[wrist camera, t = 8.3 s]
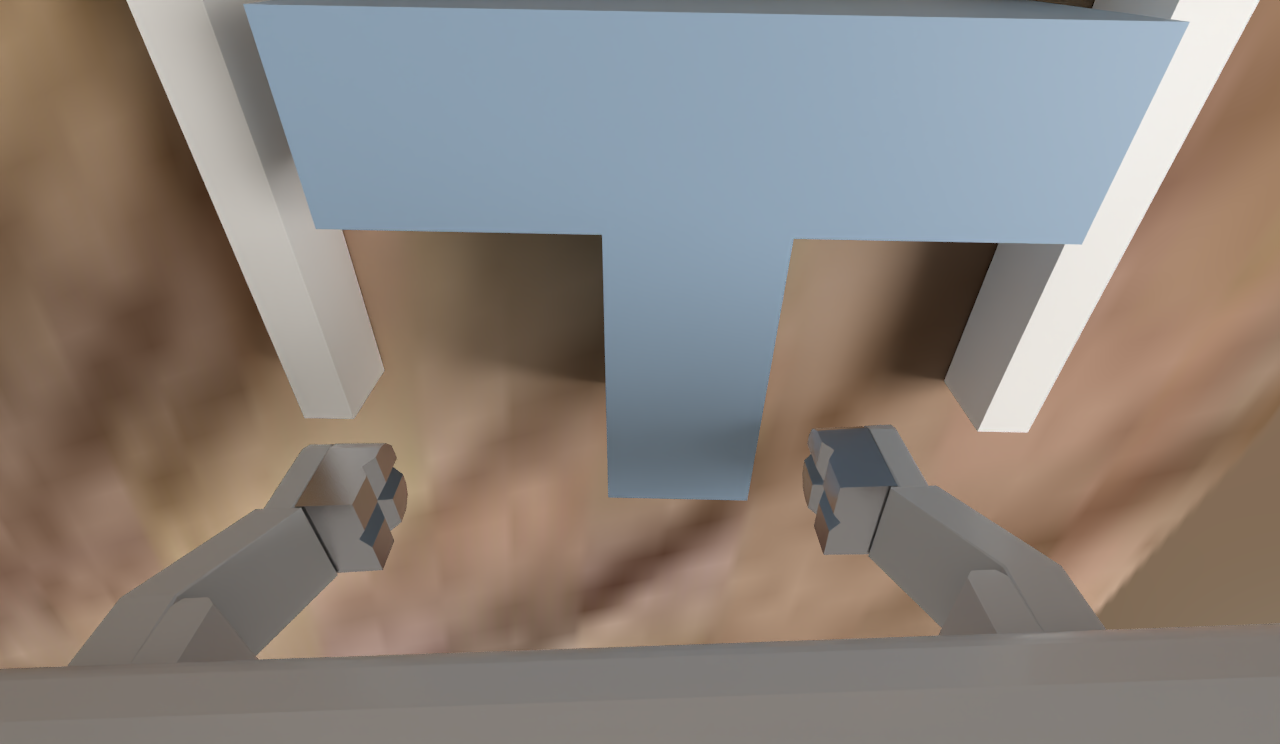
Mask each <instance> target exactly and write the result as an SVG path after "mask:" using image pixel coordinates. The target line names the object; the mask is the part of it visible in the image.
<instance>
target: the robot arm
mask: <svg viewBox="0 0 1280 744" xmlns="http://www.w3.org/2000/svg"><path fill="white" fill-rule="evenodd" d="M808 446H809V449H810V452H811V455H810V456H809V457H808V458H806V459H805V460H804V466H803V472H802V477H803V491H804V496H805V500H806V503H807V506H808V508H809V509H810V510H812V511H813V512H814V513H815V514H816V519H815V524H814V527H815V530H816V533H817V536H818V539H819V542H820V545H821V548H822V551H823V554H824V555H829V554H869V557H870V558H871V559H872V560H873V561H874V562H875V563H876V564H877V565H878V566H879V567H880V568H881V569H882V570H883V571H884V572H885V573H886V574H887V575H888V576H889V577H890V578H891V579H892V580H893V581H894V582H895V583H896V584H897V585H898V586H899V587H900V588H902V589H903V590H904V591H905V592H906V593H907V594H908V595H909V596H910V597H911V598H912V599H913V600H914V601H915V602H916V603H917V604H918V605H919V606H920V607H921V608H922V609H923V610H924V611H925V612H926V613H927V614H928V615H929V616H930V617H931V618H932V619H933V620H934V621H935V622H936V623H937V624H938V625H939V626H941V627H942V629H941V631H940V633H939V635H938V636H917V637H888V638H859V639H830V640H802V641H774V642H747V643H720V644H692V645H665V646H637V647H608V648H579V649H550V650H520V651H491V652H463V653H434V654H406V655H377V656H349V657H320V658H292V659H264V660H258V658H257V657H256V655H257V654H258V653H259V652H260V651H261V650H262V649H263V648H264V647H265V646H266V645H267V644H268V643H269V642H270V641H271V640H272V639H273V638H274V637H276V636H277V635H278V634H279V633H280V632H281V631H282V630H283V629H284V628H285V627H286V626H287V625H288V624H289V623H290V622H291V621H292V620H293V619H294V618H295V617H296V616H297V615H298V614H299V613H300V612H301V611H302V610H303V609H304V608H305V607H306V606H307V605H308V604H309V603H310V602H311V601H312V600H313V599H314V598H315V597H316V596H317V595H318V594H319V593H320V592H321V591H322V590H323V589H324V588H325V587H326V586H327V585H328V584H329V583H330V582H331V581H332V580H333V579H334V578H335V577H336V576H337V573H341V572H357V571H373V570H383V568H384V565H385V563H386V560H387V558H388V555H389V553H390V550H391V548H392V545H393V543H394V539H393V536H392V534H391V532H390V531H391V530H392V529H393V528H395V527H396V526H397V525H398V524H399V523H401V522H402V519H403V516H404V514H405V511H406V505H407V496H408V493H407V486H406V482H405V479H404V476H403V474H402V473H400V472H399V471H398V470H396V469H395V468H394V467H393V465H394V463H395V461H396V459H397V457H396V455H395V453H394V450H393V448H392V446H391V445H389V444H386V443H366V444H335V445H332V444H329V445H308V446H307V447H305V448H303V449H302V450H301V452H300V453H299V455H298V456H297V458H296V460H295V461H294V463H293V464H292V466H291V467H290V469H289V470H288V472H287V473H286V475H285V477H284V478H283V480H282V481H281V483H280V484H279V486H278V487H277V489H276V490H275V492H274V494H273V495H272V497H271V498H270V500H269V501H268V503H267V504H266V506H265V507H264V509H255V510H254V511H252V512H250V513H249V514H247V515H246V516H244V517H243V518H241V519H240V520H238V521H237V522H235V523H234V524H232V525H231V526H229V527H228V528H226V529H225V530H223V531H221V532H220V533H218V534H217V535H215V536H214V537H212V538H211V539H209V540H208V541H206V542H205V543H203V544H202V545H200V546H199V547H197V548H196V549H194V550H193V551H191V552H189V553H188V554H186V555H185V556H183V557H182V558H180V559H179V560H177V561H176V562H174V563H173V564H171V565H170V566H168V567H167V568H165V569H164V570H162V571H161V572H159V573H157V574H156V575H154V576H153V577H151V578H150V579H148V580H147V581H145V582H144V583H142V584H141V585H139V586H138V587H136V588H135V589H133V590H132V591H130V592H128V593H127V594H125V595H124V596H122V597H121V598H120V599H119V600H118V601H117V603H116V604H115V605H114V607H113V608H112V609H111V610H110V612H109V613H108V614H107V616H106V617H105V618H104V619H103V621H102V622H101V623H100V625H99V626H98V627H97V628H96V630H95V631H94V632H93V633H92V635H91V636H90V637H89V639H88V640H87V641H86V642H85V644H84V645H83V646H82V648H81V649H80V650H79V651H78V653H77V654H76V655H75V657H74V658H73V659H72V660H71V662H70V663H69V664H68V666H65V667H36V668H9V669H0V744H1280V624H1258V625H1257V624H1256V625H1228V626H1201V627H1175V628H1148V629H1147V628H1146V629H1120V630H1119V629H1117V630H1106V629H1105V627H1104V626H1103V625H1102V623H1101V622H1100V620H1099V619H1098V617H1097V616H1096V615H1095V613H1094V612H1093V610H1092V609H1091V607H1090V606H1089V605H1088V603H1087V602H1086V600H1085V599H1084V598H1083V596H1082V595H1081V593H1080V592H1079V590H1078V589H1077V588H1076V586H1075V585H1074V583H1073V582H1072V580H1071V579H1070V578H1069V576H1068V575H1067V573H1066V572H1065V571H1064V569H1063V568H1062V566H1061V565H1059V564H1057V563H1056V562H1054V561H1053V560H1051V559H1050V558H1048V557H1047V556H1045V555H1043V554H1042V553H1040V552H1039V551H1037V550H1036V549H1034V548H1033V547H1031V546H1029V545H1028V544H1026V543H1025V542H1023V541H1022V540H1020V539H1019V538H1017V537H1015V536H1014V535H1012V534H1011V533H1009V532H1008V531H1006V530H1005V529H1003V528H1002V527H1000V526H998V525H997V524H995V523H994V522H992V521H991V520H989V519H988V518H986V517H984V516H983V515H981V514H980V513H978V512H977V511H975V510H974V509H972V508H970V507H969V506H967V505H966V504H964V503H963V502H961V501H960V500H958V499H956V498H955V497H953V496H952V495H950V494H949V493H947V492H946V491H944V490H942V489H941V488H939V487H938V486H928V484H927V482H926V480H925V479H924V477H923V475H922V473H921V472H920V470H919V468H918V466H917V465H916V463H915V461H914V460H913V458H912V456H911V454H910V453H909V451H908V449H907V447H906V446H905V444H904V442H903V440H902V439H901V437H900V435H899V434H898V432H897V430H896V428H895V427H893V426H892V425H873V426H864V427H862V426H859V427H835V428H813V429H812V430H811V432H810V434H809V439H808Z"/></svg>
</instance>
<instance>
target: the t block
mask: <svg viewBox="0 0 1280 744" xmlns="http://www.w3.org/2000/svg"><path fill="white" fill-rule="evenodd" d="M243 6H244V9H245V12H246V15H247V18H248V21H249V24H250V27H251V30H252V33H253V37H254V40H255V43H256V46H257V49H258V52H259V55H260V58H261V61H262V64H263V67H264V70H265V74H266V77H267V80H268V83H269V86H270V89H271V92H272V95H273V98H274V101H275V104H276V108H277V111H278V114H279V117H280V120H281V123H282V126H283V129H284V132H285V135H286V138H287V142H288V145H289V148H290V151H291V154H292V157H293V160H294V163H295V166H296V169H297V172H298V176H299V179H300V182H301V185H302V188H303V191H304V194H305V197H306V200H307V203H308V206H309V210H310V213H311V216H312V219H313V222H314V225H315V228H316V229H339V230H389V231H438V232H487V233H537V234H586V235H602V253H603V294H604V335H605V376H606V417H607V458H608V497H617V498H662V499H707V500H747V498H748V492H749V486H750V481H751V475H752V469H753V464H754V458H755V453H756V447H757V441H758V436H759V430H760V424H761V419H762V413H763V408H764V402H765V396H766V391H767V385H768V380H769V374H770V368H771V363H772V357H773V351H774V346H775V340H776V335H777V329H778V323H779V318H780V312H781V306H782V301H783V295H784V290H785V284H786V278H787V273H788V267H789V261H790V256H791V250H792V245H793V239H833V240H882V241H931V242H981V243H1030V244H1079V245H1082V243H1083V241H1084V239H1085V237H1086V235H1087V233H1088V231H1089V229H1090V227H1091V224H1092V222H1093V220H1094V218H1095V216H1096V214H1097V212H1098V210H1099V208H1100V206H1101V204H1102V202H1103V200H1104V198H1105V196H1106V194H1107V192H1108V189H1109V187H1110V185H1111V183H1112V181H1113V179H1114V177H1115V175H1116V173H1117V171H1118V169H1119V167H1120V165H1121V163H1122V161H1123V159H1124V156H1125V154H1126V152H1127V150H1128V148H1129V146H1130V144H1131V142H1132V140H1133V138H1134V136H1135V134H1136V132H1137V130H1138V128H1139V126H1140V124H1141V121H1142V119H1143V117H1144V115H1145V113H1146V111H1147V109H1148V107H1149V105H1150V103H1151V101H1152V99H1153V97H1154V95H1155V93H1156V91H1157V89H1158V86H1159V84H1160V82H1161V80H1162V78H1163V76H1164V74H1165V72H1166V70H1167V68H1168V66H1169V64H1170V62H1171V60H1172V58H1173V56H1174V53H1175V51H1176V49H1177V47H1178V45H1179V43H1180V41H1181V39H1182V37H1183V35H1184V33H1185V31H1186V29H1187V27H1188V25H1189V23H1190V22H1187V21H1180V20H1173V19H1165V18H1158V17H1150V16H1143V15H1136V14H1128V13H1121V12H1113V11H1106V10H1098V9H1091V8H1084V7H1076V6H1069V5H1061V4H1054V3H1047V2H1039V1H1032V0H270V1H262V2H255V3H248V4H243Z"/></svg>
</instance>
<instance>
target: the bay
mask: <svg viewBox="0 0 1280 744" xmlns="http://www.w3.org/2000/svg"><path fill="white" fill-rule="evenodd" d="M126 1H127V3H128V5H129V8H130V10H131V12H132V15H133V17H134V19H135V22H136V24H137V26H138V29H139V31H140V33H141V36H142V38H143V40H144V43H145V45H146V47H147V50H148V52H149V54H150V57H151V59H152V61H153V64H154V66H155V69H156V71H157V73H158V76H159V78H160V80H161V83H162V85H163V87H164V90H165V92H166V94H167V97H168V99H169V101H170V104H171V106H172V108H173V111H174V113H175V115H176V118H177V120H178V122H179V125H180V127H181V129H182V132H183V134H184V137H185V139H186V141H187V144H188V146H189V148H190V151H191V153H192V155H193V158H194V160H195V162H196V165H197V167H198V169H199V172H200V174H201V176H202V179H203V181H204V183H205V186H206V188H207V190H208V193H209V195H210V197H211V200H212V202H213V205H214V207H215V209H216V212H217V214H218V216H219V219H220V221H221V223H222V226H223V228H224V230H225V233H226V235H227V237H228V240H229V242H230V244H231V247H232V249H233V251H234V254H235V256H236V258H237V261H238V263H239V265H240V268H241V270H242V273H243V275H244V277H245V280H246V282H247V284H248V287H249V289H250V291H251V294H252V296H253V298H254V301H255V303H256V305H257V308H258V310H259V312H260V315H261V317H262V319H263V322H264V324H265V326H266V329H267V331H268V334H269V336H270V338H271V341H272V343H273V345H274V348H275V350H276V352H277V355H278V357H279V359H280V362H281V364H282V366H283V369H284V371H285V373H286V376H287V378H288V380H289V383H290V385H291V387H292V390H293V392H294V394H295V397H296V399H297V402H298V404H299V406H300V409H301V411H302V413H303V416H304V418H329V419H354V418H355V417H356V415H357V414H358V412H359V410H360V409H361V407H362V406H363V404H364V402H365V401H366V399H367V398H368V396H369V394H370V393H371V391H372V390H373V388H374V386H375V385H376V383H377V382H378V380H379V379H380V377H381V375H382V374H383V372H384V371H385V370H384V367H383V364H382V360H381V357H380V354H379V350H378V347H377V344H376V340H375V337H374V334H373V330H372V327H371V324H370V321H369V317H368V314H367V311H366V307H365V304H364V301H363V297H362V294H361V291H360V287H359V284H358V281H357V277H356V274H355V271H354V268H353V264H352V261H351V258H350V254H349V251H348V248H347V244H346V241H345V238H344V234H343V231H342V230H339V229H316V228H315V225H314V222H313V219H312V216H311V213H310V210H309V206H308V203H307V200H306V197H305V194H304V191H303V188H302V185H301V182H300V179H299V176H298V172H297V169H296V166H295V163H294V160H293V157H292V154H291V151H290V148H289V145H288V142H287V138H286V135H285V132H284V129H283V126H282V123H281V120H280V117H279V114H278V111H277V108H276V104H275V101H274V98H273V95H272V92H271V89H270V86H269V83H268V80H267V77H266V74H265V70H264V67H263V64H262V61H261V58H260V55H259V52H258V49H257V46H256V43H255V40H254V37H253V33H252V30H251V27H250V24H249V21H248V18H247V15H246V12H245V9H244V6H243V4H248V3H255V2H262V1H270V0H126ZM1258 2H1259V0H1095V2H1094V4H1093V7H1092V9H1098V10H1106V11H1113V12H1121V13H1128V14H1136V15H1143V16H1150V17H1158V18H1165V19H1173V20H1180V21H1187V22H1190V23H1189V25H1188V27H1187V29H1186V31H1185V33H1184V35H1183V37H1182V39H1181V41H1180V43H1179V45H1178V47H1177V49H1176V51H1175V53H1174V56H1173V58H1172V60H1171V62H1170V64H1169V66H1168V68H1167V70H1166V72H1165V74H1164V76H1163V78H1162V80H1161V82H1160V84H1159V86H1158V89H1157V91H1156V93H1155V95H1154V97H1153V99H1152V101H1151V103H1150V105H1149V107H1148V109H1147V111H1146V113H1145V115H1144V117H1143V119H1142V121H1141V124H1140V126H1139V128H1138V130H1137V132H1136V134H1135V136H1134V138H1133V140H1132V142H1131V144H1130V146H1129V148H1128V150H1127V152H1126V154H1125V156H1124V159H1123V161H1122V163H1121V165H1120V167H1119V169H1118V171H1117V173H1116V175H1115V177H1114V179H1113V181H1112V183H1111V185H1110V187H1109V189H1108V192H1107V194H1106V196H1105V198H1104V200H1103V202H1102V204H1101V206H1100V208H1099V210H1098V212H1097V214H1096V216H1095V218H1094V220H1093V222H1092V224H1091V227H1090V229H1089V231H1088V233H1087V235H1086V237H1085V239H1084V241H1083V243H1082V245H1079V244H1030V243H999V244H998V246H997V249H996V251H995V254H994V256H993V259H992V261H991V264H990V266H989V269H988V271H987V274H986V276H985V279H984V282H983V284H982V287H981V289H980V292H979V294H978V297H977V299H976V302H975V304H974V307H973V309H972V312H971V314H970V317H969V319H968V322H967V324H966V327H965V329H964V332H963V334H962V337H961V339H960V342H959V345H958V347H957V350H956V352H955V355H954V357H953V360H952V362H951V365H950V367H949V370H948V372H947V375H946V377H945V380H944V382H945V384H946V385H947V387H948V388H949V390H950V391H951V393H952V394H953V396H954V397H955V399H956V400H957V402H958V403H959V405H960V406H961V408H962V409H963V411H964V412H965V414H966V415H967V417H968V418H969V419H970V421H971V422H972V424H973V425H974V427H975V428H976V430H977V431H982V432H1028V431H1029V429H1030V427H1031V425H1032V424H1033V422H1034V420H1035V418H1036V416H1037V414H1038V412H1039V410H1040V409H1041V407H1042V405H1043V403H1044V401H1045V399H1046V397H1047V396H1048V394H1049V392H1050V390H1051V388H1052V386H1053V384H1054V383H1055V381H1056V379H1057V377H1058V375H1059V373H1060V371H1061V369H1062V368H1063V366H1064V364H1065V362H1066V360H1067V358H1068V356H1069V355H1070V353H1071V351H1072V349H1073V347H1074V345H1075V343H1076V342H1077V340H1078V338H1079V336H1080V334H1081V332H1082V330H1083V328H1084V327H1085V325H1086V323H1087V321H1088V319H1089V317H1090V315H1091V314H1092V312H1093V310H1094V308H1095V306H1096V304H1097V302H1098V300H1099V299H1100V297H1101V295H1102V293H1103V291H1104V289H1105V287H1106V286H1107V284H1108V282H1109V280H1110V278H1111V276H1112V274H1113V273H1114V271H1115V269H1116V267H1117V265H1118V263H1119V261H1120V259H1121V258H1122V256H1123V254H1124V252H1125V250H1126V248H1127V246H1128V245H1129V243H1130V241H1131V239H1132V237H1133V235H1134V233H1135V232H1136V230H1137V228H1138V226H1139V224H1140V222H1141V220H1142V218H1143V217H1144V215H1145V213H1146V211H1147V209H1148V207H1149V205H1150V204H1151V202H1152V200H1153V198H1154V196H1155V194H1156V192H1157V191H1158V189H1159V187H1160V185H1161V183H1162V181H1163V179H1164V177H1165V176H1166V174H1167V172H1168V170H1169V168H1170V166H1171V164H1172V163H1173V161H1174V159H1175V157H1176V155H1177V153H1178V151H1179V149H1180V148H1181V146H1182V144H1183V142H1184V140H1185V138H1186V136H1187V135H1188V133H1189V131H1190V129H1191V127H1192V125H1193V123H1194V122H1195V120H1196V118H1197V116H1198V114H1199V112H1200V110H1201V108H1202V107H1203V105H1204V103H1205V101H1206V99H1207V97H1208V95H1209V94H1210V92H1211V90H1212V88H1213V86H1214V84H1215V82H1216V81H1217V79H1218V77H1219V75H1220V73H1221V71H1222V69H1223V67H1224V66H1225V64H1226V62H1227V60H1228V58H1229V56H1230V54H1231V53H1232V51H1233V49H1234V47H1235V45H1236V43H1237V41H1238V40H1239V38H1240V36H1241V34H1242V32H1243V30H1244V28H1245V26H1246V25H1247V23H1248V21H1249V19H1250V17H1251V15H1252V13H1253V12H1254V10H1255V8H1256V6H1257V4H1258Z"/></svg>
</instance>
